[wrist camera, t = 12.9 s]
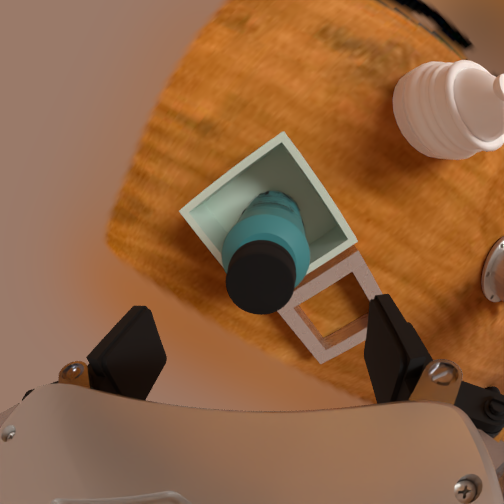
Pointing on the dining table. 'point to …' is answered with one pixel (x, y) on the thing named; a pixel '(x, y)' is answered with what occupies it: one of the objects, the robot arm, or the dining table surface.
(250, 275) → the beverage bottle
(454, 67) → the honey pot
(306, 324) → the socket frame
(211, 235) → the bin
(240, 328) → the dining table surface
